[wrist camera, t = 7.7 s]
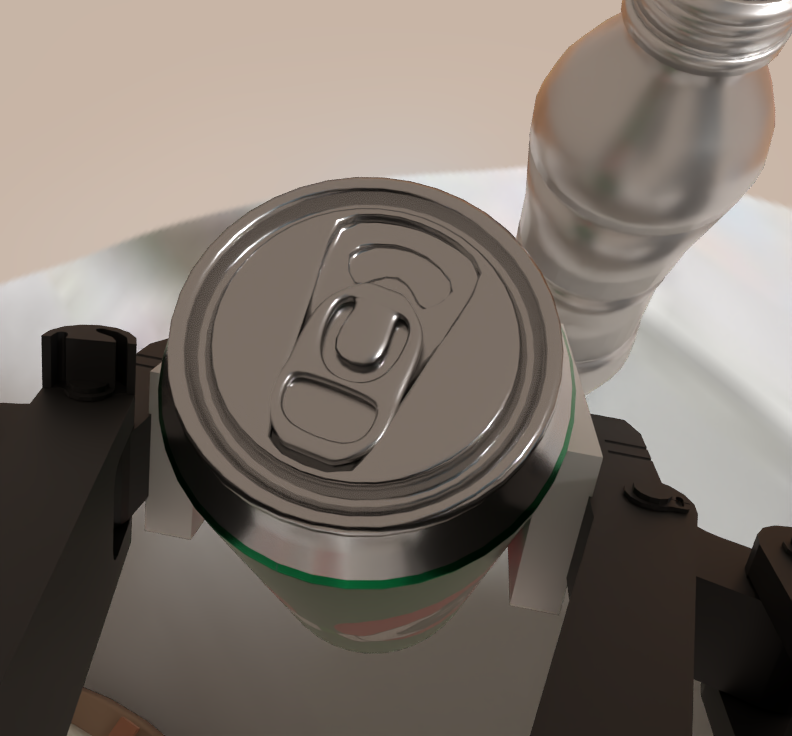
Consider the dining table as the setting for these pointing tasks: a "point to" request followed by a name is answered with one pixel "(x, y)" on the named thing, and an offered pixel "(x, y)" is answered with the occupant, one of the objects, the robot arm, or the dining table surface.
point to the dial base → (109, 717)
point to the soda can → (367, 402)
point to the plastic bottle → (644, 157)
